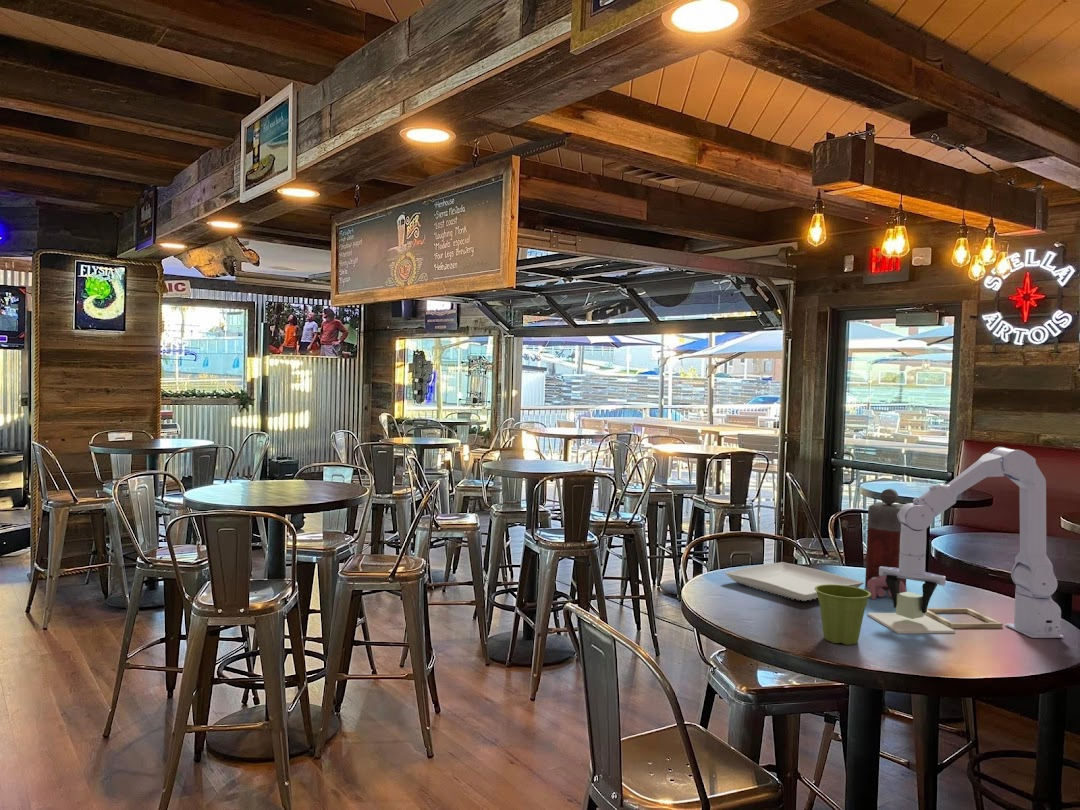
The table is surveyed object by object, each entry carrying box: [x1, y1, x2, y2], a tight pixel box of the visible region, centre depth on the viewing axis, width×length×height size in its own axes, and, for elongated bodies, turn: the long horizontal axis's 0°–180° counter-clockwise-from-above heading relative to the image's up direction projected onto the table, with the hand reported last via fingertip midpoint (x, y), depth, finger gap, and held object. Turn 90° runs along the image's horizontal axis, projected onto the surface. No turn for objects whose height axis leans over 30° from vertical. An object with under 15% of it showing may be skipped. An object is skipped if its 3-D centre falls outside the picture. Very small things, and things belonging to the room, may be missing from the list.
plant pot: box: [815, 584, 871, 646], centre depth 178 cm, size 12×12×11 cm
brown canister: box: [864, 488, 907, 591], centre depth 227 cm, size 9×11×28 cm
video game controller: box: [867, 576, 908, 601], centre depth 214 cm, size 10×5×7 cm, turn 85°
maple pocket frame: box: [924, 607, 1004, 629], centre depth 196 cm, size 13×13×1 cm
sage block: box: [895, 591, 925, 619], centre depth 191 cm, size 4×4×5 cm
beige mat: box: [866, 612, 956, 635], centre depth 191 cm, size 14×14×1 cm
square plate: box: [725, 561, 864, 602], centre depth 223 cm, size 27×27×4 cm
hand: (910, 609), depth 191 cm, fingers closed on sage block, 6 cm apart
